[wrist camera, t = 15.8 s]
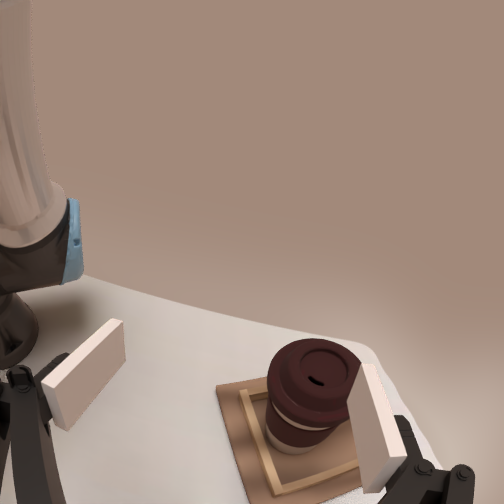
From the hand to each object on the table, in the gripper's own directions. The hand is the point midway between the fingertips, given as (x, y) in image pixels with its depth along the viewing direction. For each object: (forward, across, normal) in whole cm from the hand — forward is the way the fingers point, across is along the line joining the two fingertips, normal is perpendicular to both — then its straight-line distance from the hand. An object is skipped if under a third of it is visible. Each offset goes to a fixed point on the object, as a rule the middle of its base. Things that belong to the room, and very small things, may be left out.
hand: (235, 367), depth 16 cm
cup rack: (+16, +9, -21) cm, 28 cm away
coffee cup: (+15, +7, -20) cm, 26 cm away
